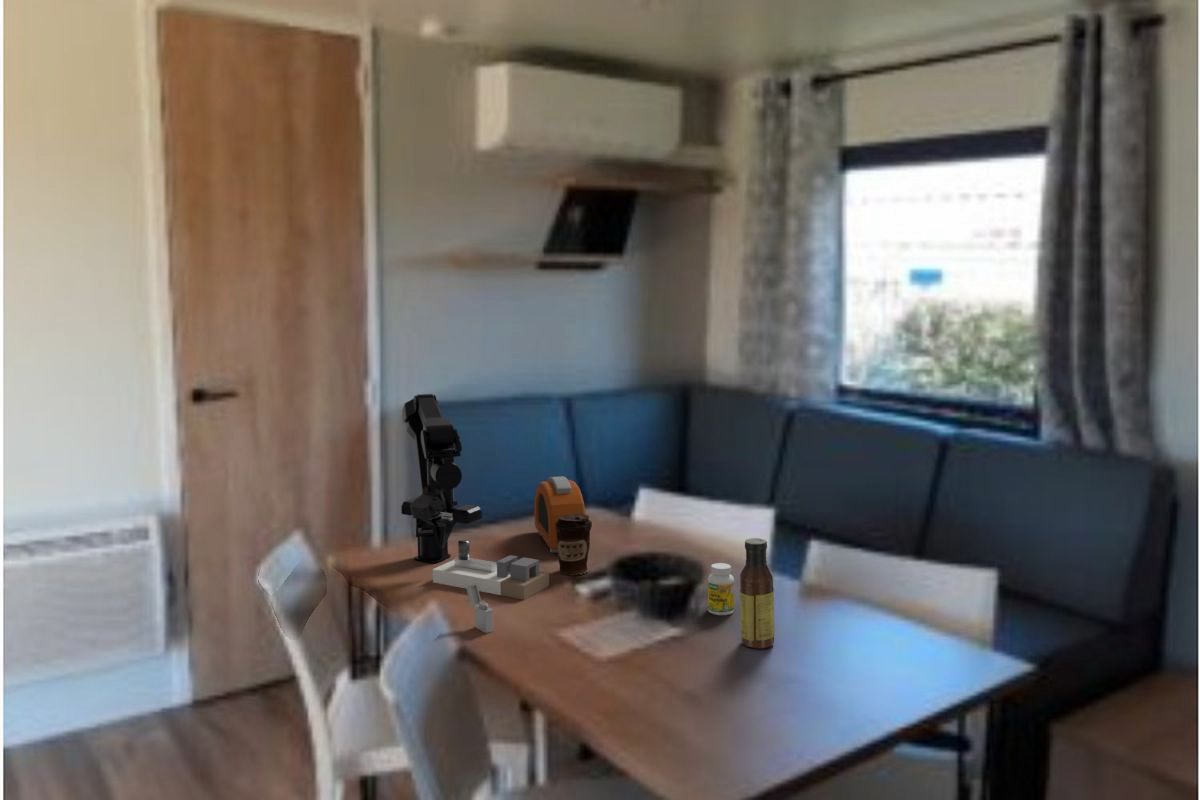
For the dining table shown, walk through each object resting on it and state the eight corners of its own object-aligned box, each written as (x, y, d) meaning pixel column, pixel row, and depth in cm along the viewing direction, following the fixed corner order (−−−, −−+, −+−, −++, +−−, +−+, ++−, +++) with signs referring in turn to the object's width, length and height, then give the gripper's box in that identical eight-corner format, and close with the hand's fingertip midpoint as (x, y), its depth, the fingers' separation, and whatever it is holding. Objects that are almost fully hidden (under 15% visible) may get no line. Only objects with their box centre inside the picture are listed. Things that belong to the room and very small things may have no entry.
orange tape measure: (534, 531, 263) (533, 469, 261) (567, 529, 266) (567, 467, 263) (551, 557, 241) (550, 489, 238) (587, 554, 243) (587, 487, 241)
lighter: (493, 631, 194) (492, 591, 193) (486, 633, 193) (485, 593, 192) (474, 620, 199) (473, 581, 198) (466, 622, 198) (465, 583, 197)
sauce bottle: (776, 639, 189) (779, 537, 186) (771, 652, 183) (773, 547, 180) (742, 635, 191) (744, 534, 188) (735, 647, 185) (737, 543, 183)
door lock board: (433, 582, 223) (432, 554, 222) (459, 569, 231) (459, 542, 230) (524, 599, 211) (523, 570, 210) (549, 585, 220) (548, 557, 219)
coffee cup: (591, 578, 225) (591, 521, 223) (554, 578, 225) (554, 521, 224) (592, 566, 234) (592, 511, 232) (557, 566, 234) (556, 511, 232)
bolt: (453, 565, 224) (453, 541, 223) (460, 562, 226) (459, 538, 225) (491, 572, 219) (490, 547, 219) (497, 569, 221) (496, 544, 221)
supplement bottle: (737, 608, 206) (737, 563, 204) (729, 617, 201) (730, 571, 199) (711, 605, 208) (712, 560, 206) (704, 613, 203) (704, 568, 202)
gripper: (383, 482, 222) (386, 550, 224) (452, 491, 213) (454, 563, 215) (416, 472, 231) (417, 538, 234) (482, 481, 223) (484, 549, 225)
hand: (442, 547), depth 227 cm, fingers closed
